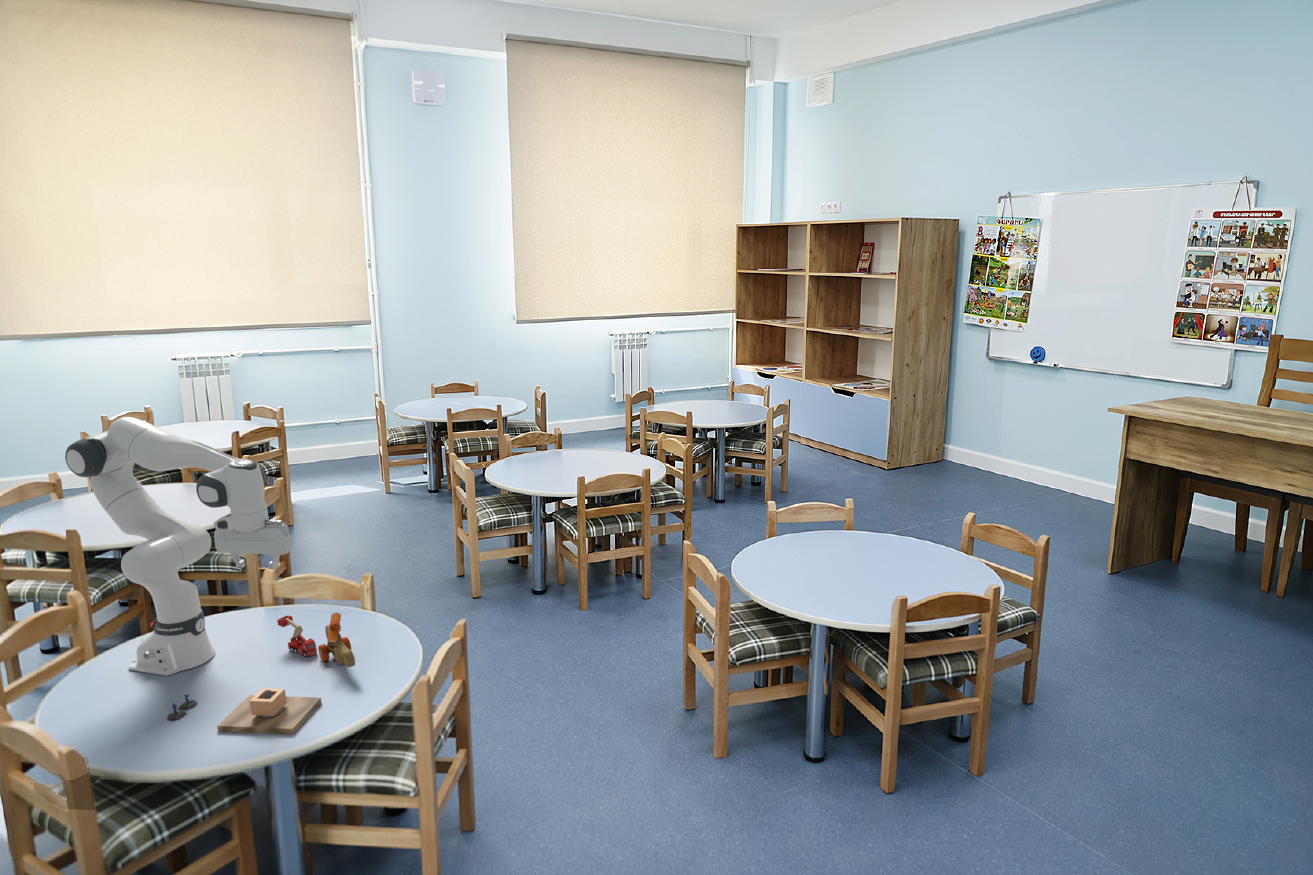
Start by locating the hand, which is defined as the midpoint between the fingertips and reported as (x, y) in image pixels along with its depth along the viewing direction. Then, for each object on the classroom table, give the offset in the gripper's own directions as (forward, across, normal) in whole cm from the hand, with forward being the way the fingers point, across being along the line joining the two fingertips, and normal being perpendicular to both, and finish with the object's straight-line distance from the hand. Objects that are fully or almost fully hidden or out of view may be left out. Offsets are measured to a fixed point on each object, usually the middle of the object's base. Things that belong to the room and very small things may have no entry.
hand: (257, 567), depth 222 cm
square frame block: (+31, -10, +18) cm, 37 cm away
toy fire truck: (+34, +1, -16) cm, 37 cm away
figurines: (+34, +15, +17) cm, 41 cm away
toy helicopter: (+33, -16, -8) cm, 38 cm away
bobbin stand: (+33, -10, +18) cm, 39 cm away
